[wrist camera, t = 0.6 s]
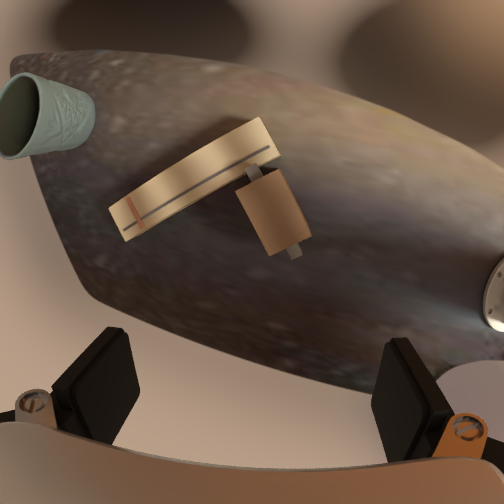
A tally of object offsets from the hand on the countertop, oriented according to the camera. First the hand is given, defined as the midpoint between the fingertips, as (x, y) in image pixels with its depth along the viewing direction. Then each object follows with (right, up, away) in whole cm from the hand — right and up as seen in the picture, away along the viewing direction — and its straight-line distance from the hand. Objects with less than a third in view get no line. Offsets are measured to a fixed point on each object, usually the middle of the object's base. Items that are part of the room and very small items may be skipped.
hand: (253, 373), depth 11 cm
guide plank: (-7, +13, +26) cm, 30 cm away
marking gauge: (+3, +10, +26) cm, 28 cm away
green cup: (-25, +22, +26) cm, 42 cm away
